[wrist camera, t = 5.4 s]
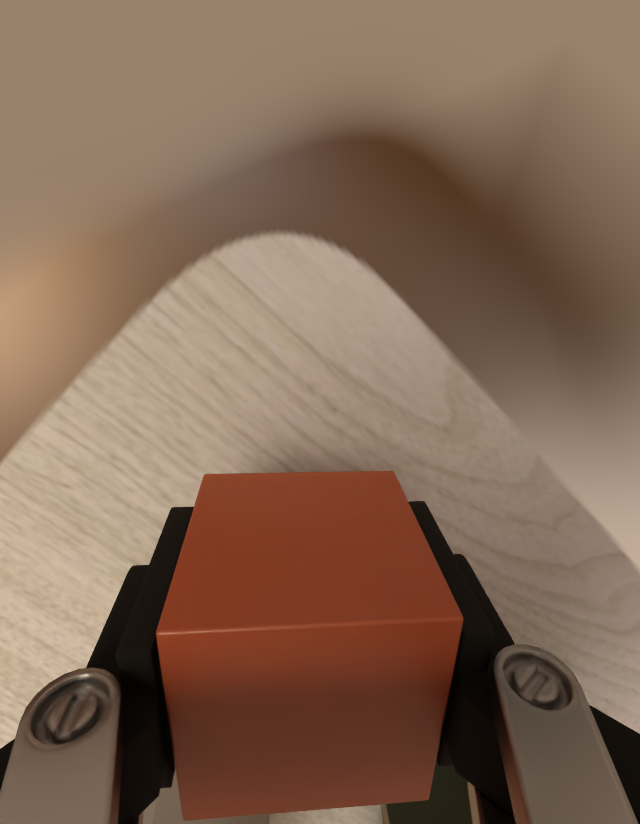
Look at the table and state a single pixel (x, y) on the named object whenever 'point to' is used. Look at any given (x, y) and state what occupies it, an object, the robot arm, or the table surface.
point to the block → (305, 646)
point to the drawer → (435, 802)
